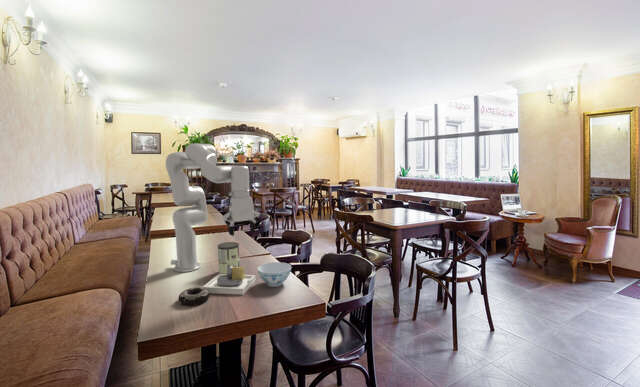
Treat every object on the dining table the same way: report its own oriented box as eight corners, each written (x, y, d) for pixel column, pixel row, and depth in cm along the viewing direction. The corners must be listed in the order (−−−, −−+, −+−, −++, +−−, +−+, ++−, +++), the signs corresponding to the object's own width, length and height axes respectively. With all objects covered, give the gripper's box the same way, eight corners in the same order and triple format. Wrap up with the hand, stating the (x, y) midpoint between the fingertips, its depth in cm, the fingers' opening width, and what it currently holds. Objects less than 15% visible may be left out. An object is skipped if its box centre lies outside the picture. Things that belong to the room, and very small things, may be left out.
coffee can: (226, 267, 170) (225, 241, 169) (243, 269, 167) (242, 242, 165) (214, 274, 161) (213, 246, 159) (232, 276, 157) (231, 248, 156)
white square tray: (202, 292, 138) (202, 286, 138) (218, 279, 154) (218, 273, 154) (243, 294, 136) (243, 287, 136) (255, 280, 152) (255, 274, 151)
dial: (212, 286, 140) (212, 270, 139) (223, 277, 151) (222, 262, 150) (239, 287, 139) (239, 271, 138) (248, 278, 149) (248, 263, 149)
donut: (187, 294, 137) (187, 285, 137) (214, 295, 136) (214, 286, 136) (172, 306, 126) (172, 296, 125) (201, 307, 124) (201, 297, 124)
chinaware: (254, 280, 151) (254, 264, 151) (285, 276, 157) (285, 260, 157) (262, 292, 138) (261, 275, 137) (296, 287, 144) (295, 270, 143)
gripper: (224, 196, 133) (226, 238, 134) (262, 193, 143) (264, 231, 145) (217, 195, 138) (219, 235, 140) (254, 192, 149) (256, 229, 151)
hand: (242, 233), depth 142 cm, fingers open, 9 cm apart
